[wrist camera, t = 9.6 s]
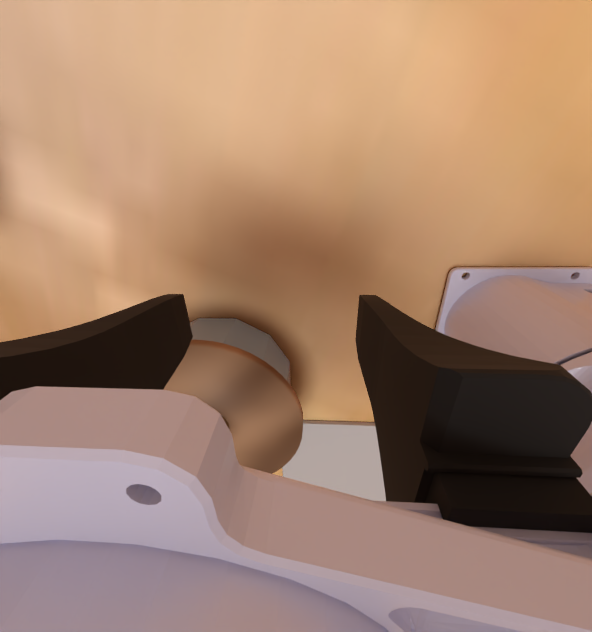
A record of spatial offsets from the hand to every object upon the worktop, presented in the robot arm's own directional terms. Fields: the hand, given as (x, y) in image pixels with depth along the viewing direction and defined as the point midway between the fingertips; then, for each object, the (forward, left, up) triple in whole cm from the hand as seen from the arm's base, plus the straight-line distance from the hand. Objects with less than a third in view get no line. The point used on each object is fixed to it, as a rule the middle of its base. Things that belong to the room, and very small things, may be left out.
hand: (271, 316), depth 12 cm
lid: (+6, +11, -5) cm, 14 cm away
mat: (-7, +25, -9) cm, 28 cm away
